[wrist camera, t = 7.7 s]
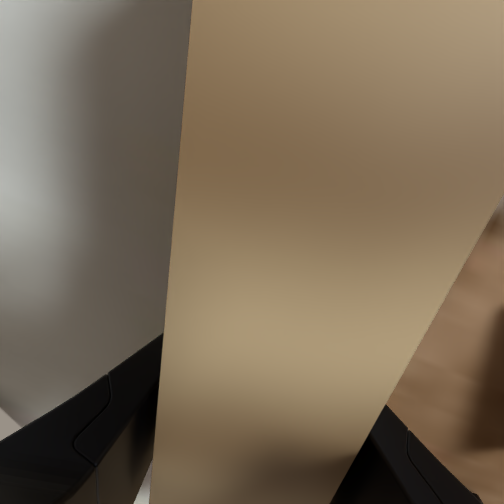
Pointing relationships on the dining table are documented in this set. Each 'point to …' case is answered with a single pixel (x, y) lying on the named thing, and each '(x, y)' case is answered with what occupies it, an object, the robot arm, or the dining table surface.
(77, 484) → the robot arm
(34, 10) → the dining table surface
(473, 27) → the oak slat
